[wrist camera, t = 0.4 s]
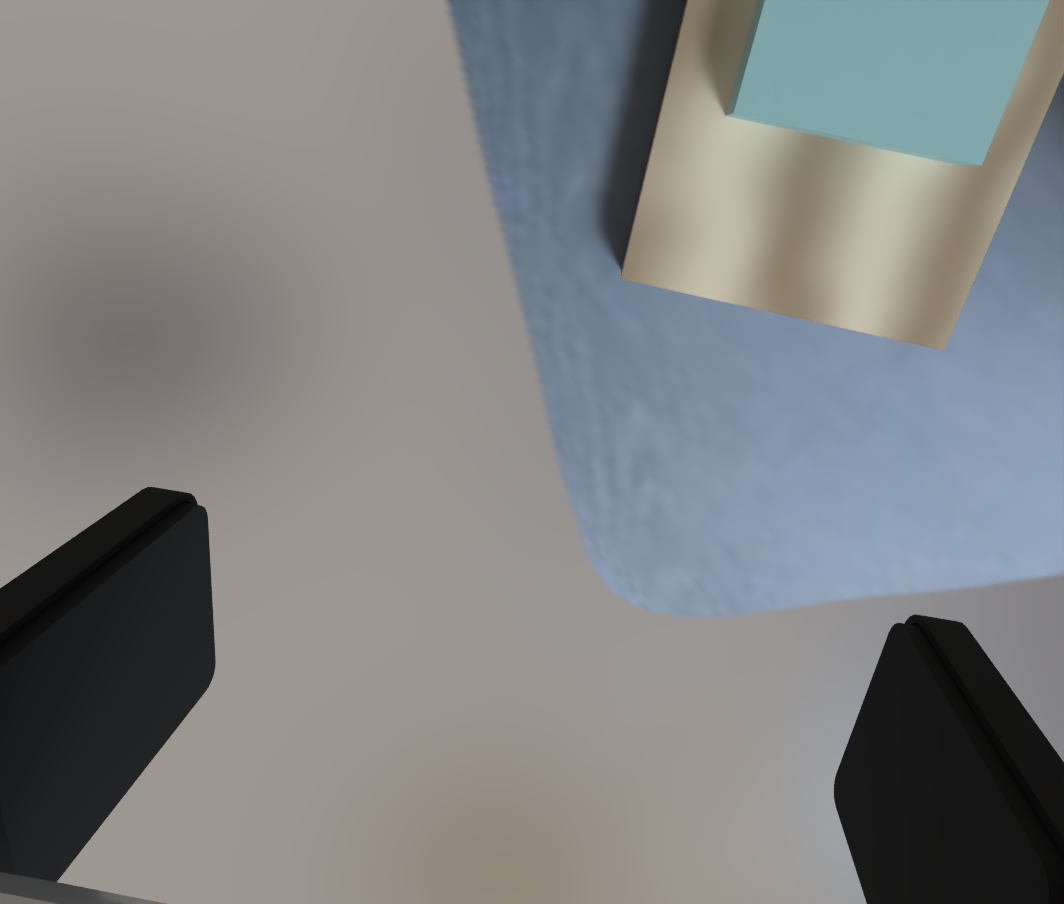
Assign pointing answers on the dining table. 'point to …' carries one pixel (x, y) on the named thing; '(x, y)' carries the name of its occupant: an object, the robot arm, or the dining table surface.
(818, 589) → the dining table surface
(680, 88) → the beige brown rectangular slab
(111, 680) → the robot arm
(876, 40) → the tile
